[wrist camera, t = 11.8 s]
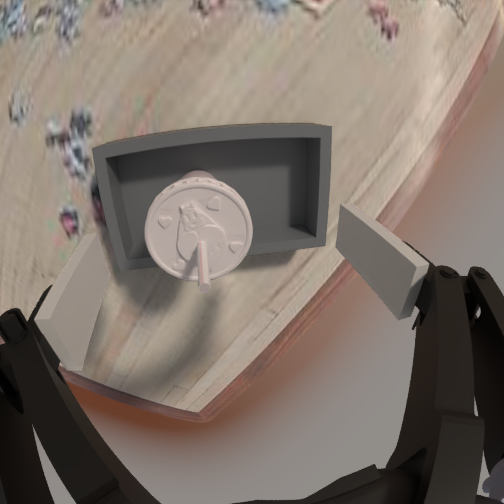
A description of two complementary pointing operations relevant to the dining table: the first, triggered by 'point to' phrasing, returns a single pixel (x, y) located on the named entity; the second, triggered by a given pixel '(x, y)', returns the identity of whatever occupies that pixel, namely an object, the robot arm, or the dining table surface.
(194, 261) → the smoothie
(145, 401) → the dining table surface
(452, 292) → the robot arm
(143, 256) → the tray
